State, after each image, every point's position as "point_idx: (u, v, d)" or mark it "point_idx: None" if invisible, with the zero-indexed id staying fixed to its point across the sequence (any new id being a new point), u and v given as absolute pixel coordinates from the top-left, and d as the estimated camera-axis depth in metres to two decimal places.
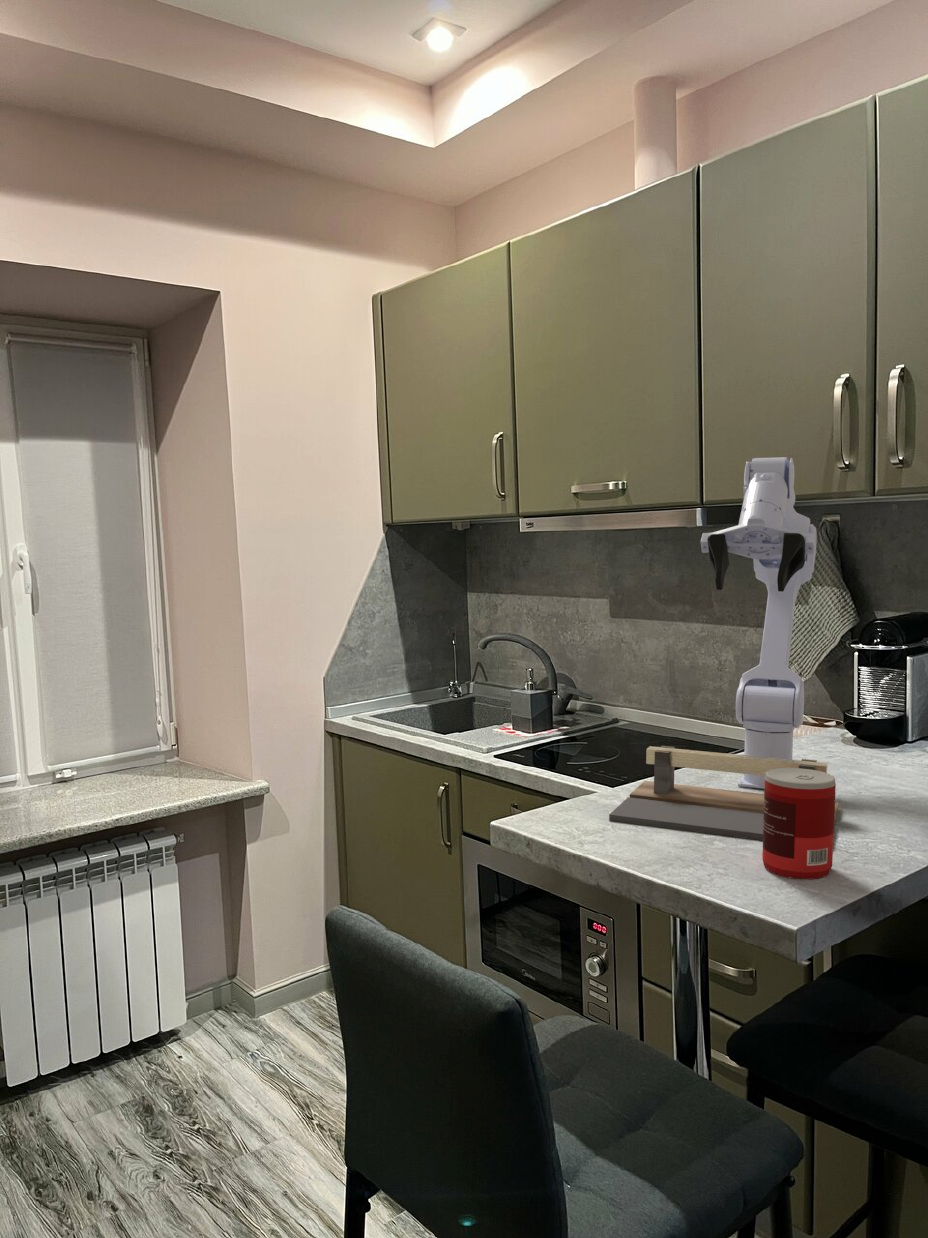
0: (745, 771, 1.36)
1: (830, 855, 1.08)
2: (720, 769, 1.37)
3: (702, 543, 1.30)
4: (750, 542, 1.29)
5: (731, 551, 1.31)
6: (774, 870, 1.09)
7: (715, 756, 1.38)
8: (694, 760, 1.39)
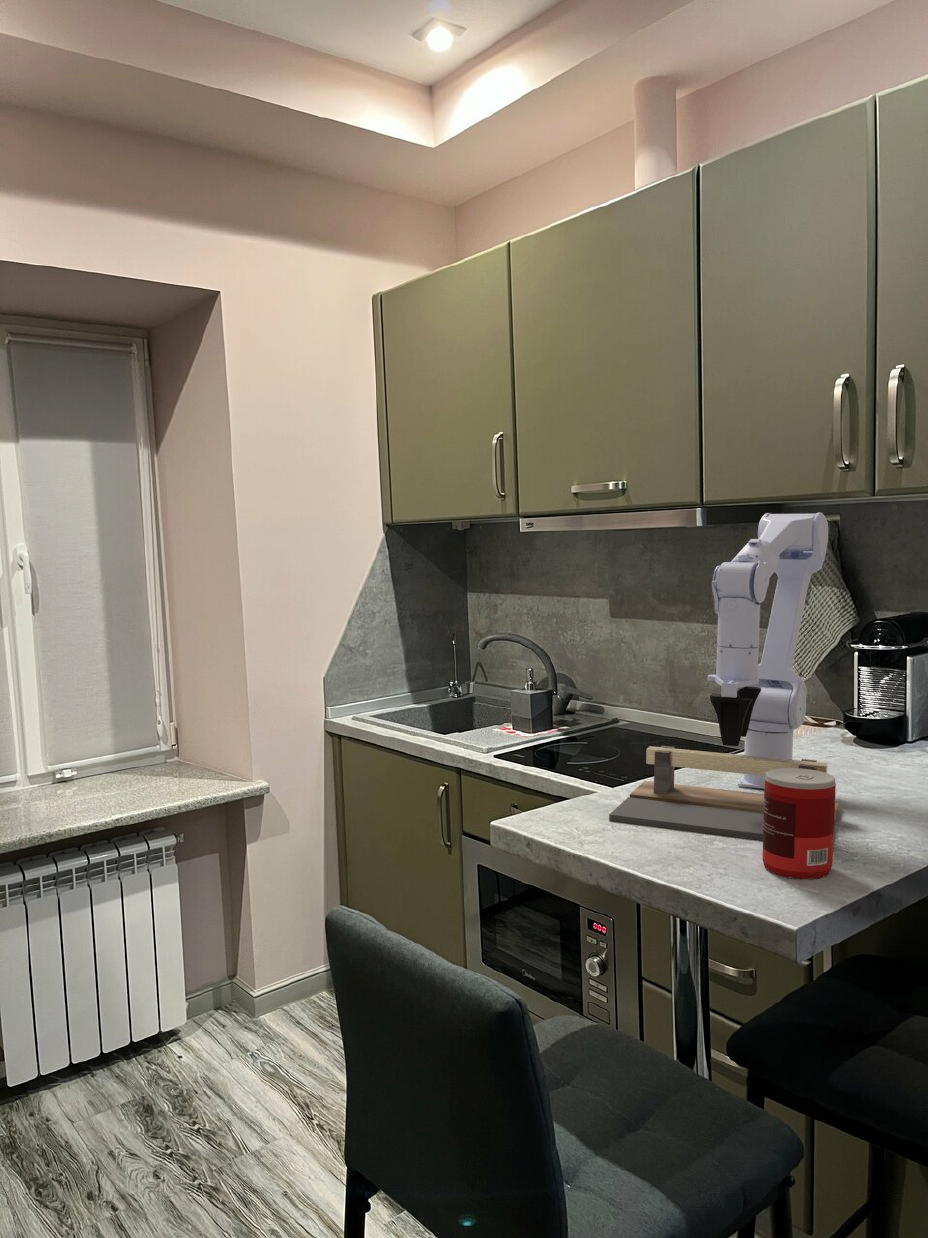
0: (745, 771, 1.36)
1: (830, 855, 1.08)
2: (720, 769, 1.37)
3: None
4: None
5: None
6: (774, 870, 1.09)
7: (715, 756, 1.38)
8: (694, 760, 1.39)
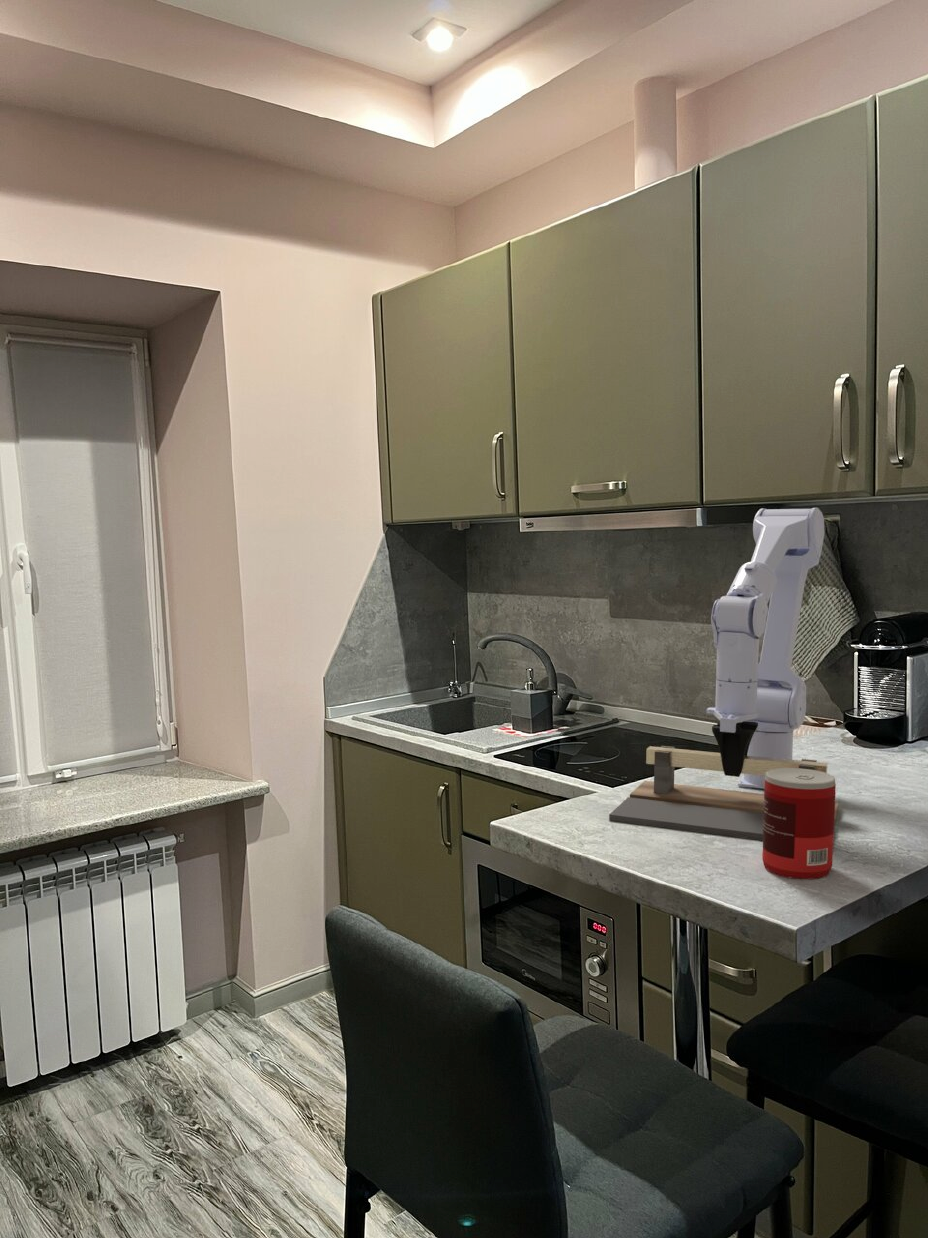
0: (745, 771, 1.36)
1: (830, 855, 1.08)
2: (720, 769, 1.37)
3: None
4: None
5: None
6: (774, 870, 1.09)
7: (715, 756, 1.38)
8: (694, 760, 1.39)
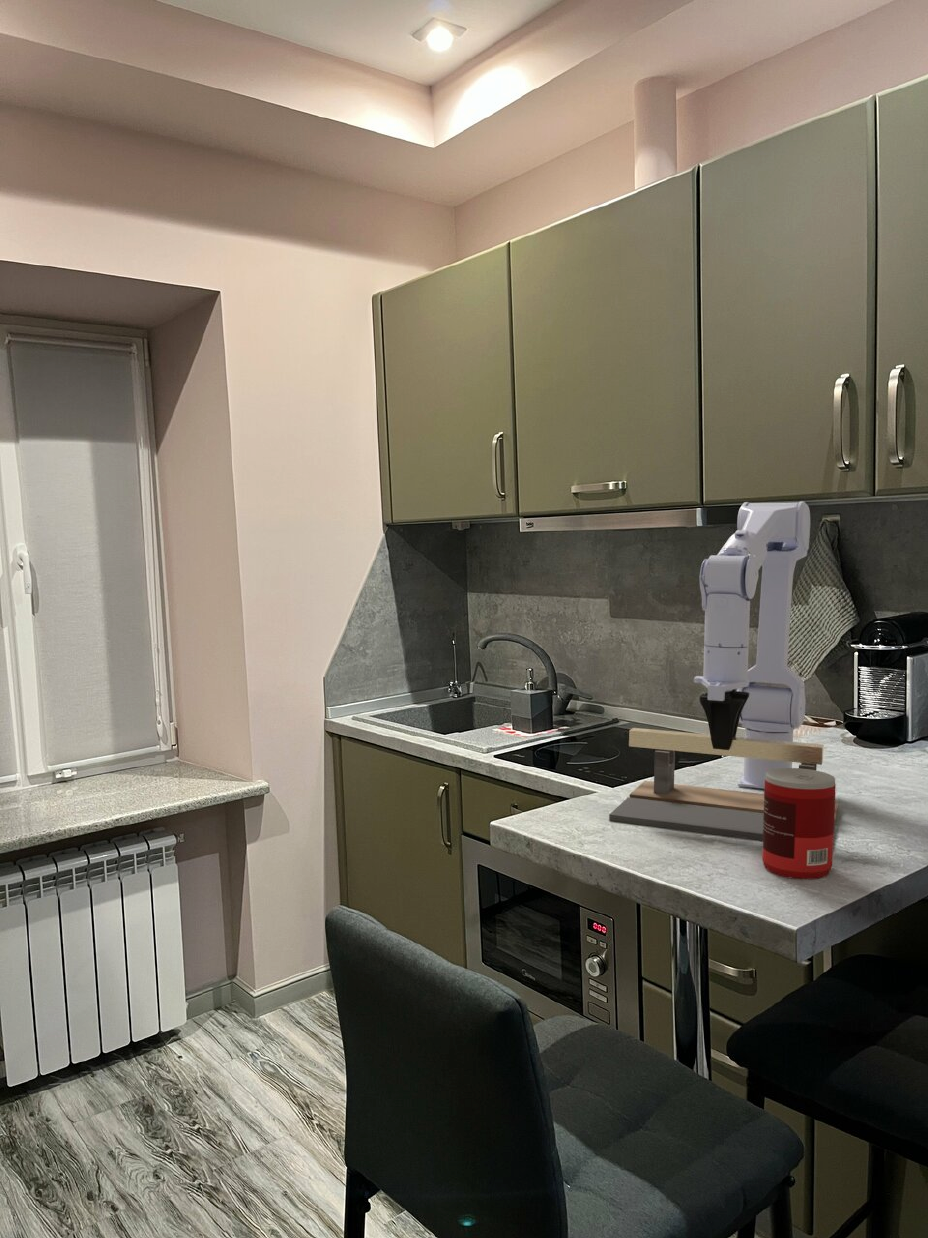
0: (735, 753, 1.26)
1: (830, 855, 1.08)
2: (708, 751, 1.28)
3: None
4: None
5: None
6: (774, 870, 1.09)
7: (703, 737, 1.28)
8: (680, 742, 1.29)
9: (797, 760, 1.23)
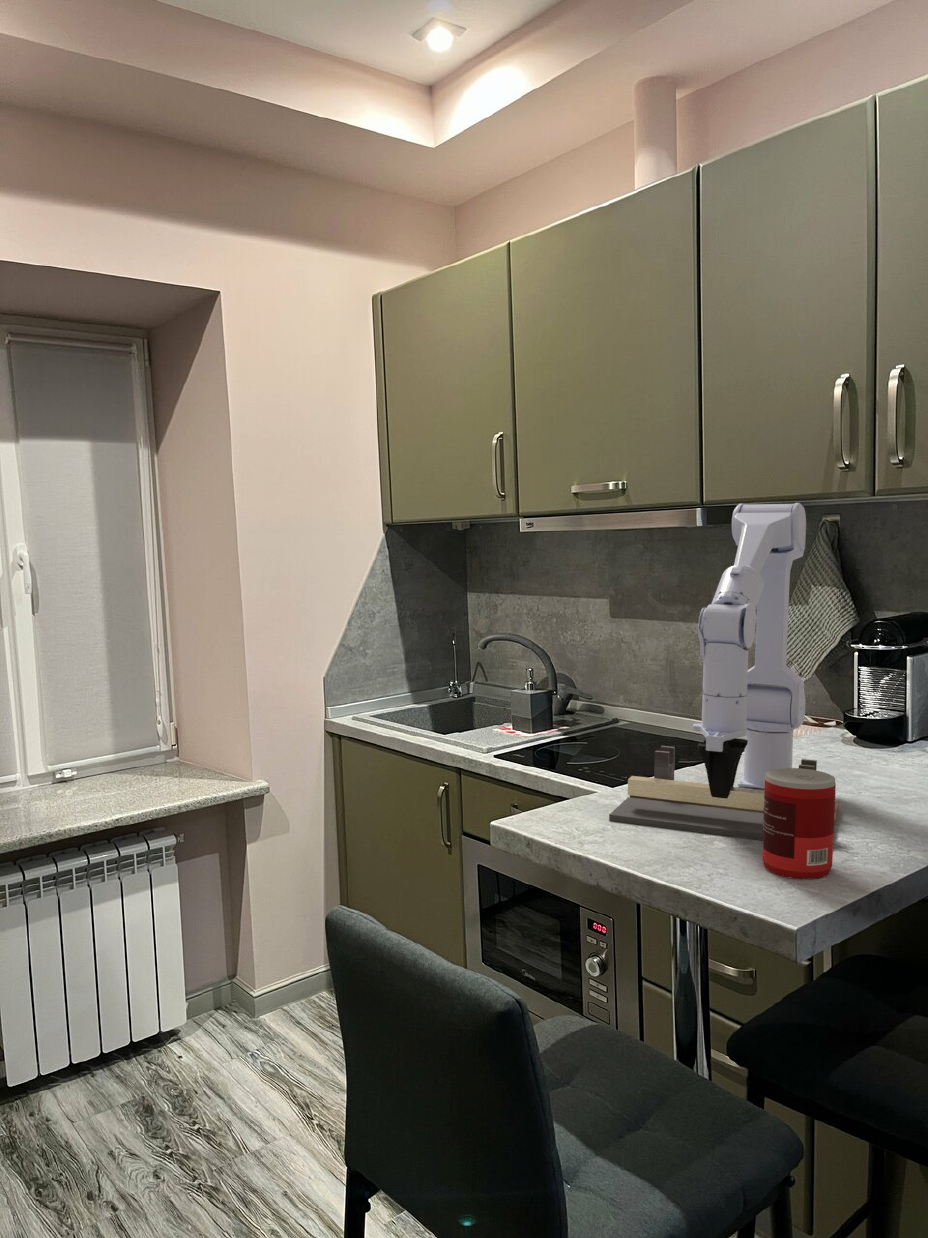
0: (733, 804, 1.27)
1: (830, 855, 1.08)
2: (706, 802, 1.28)
3: None
4: None
5: None
6: (774, 870, 1.09)
7: (701, 788, 1.28)
8: (679, 791, 1.29)
9: None
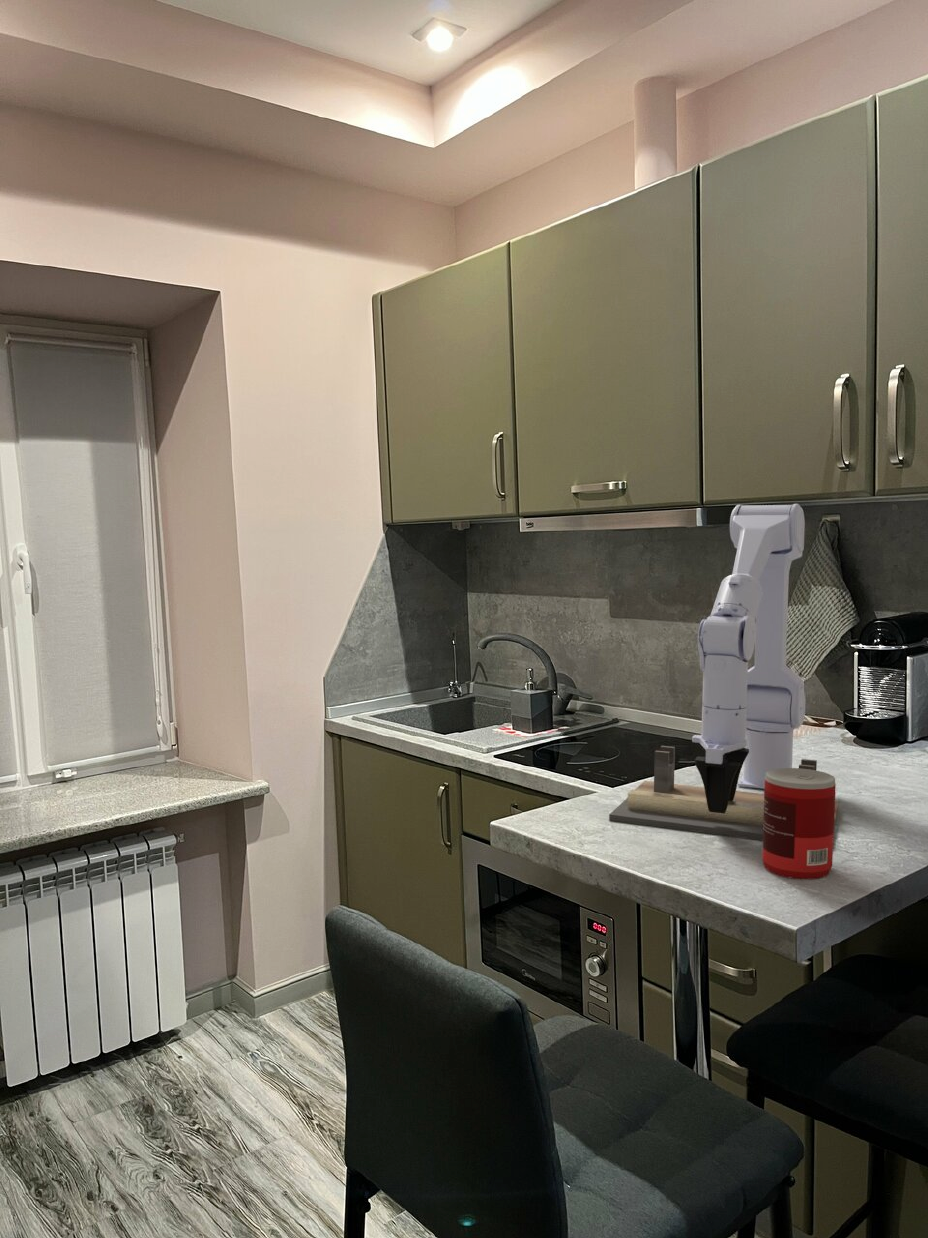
0: (733, 819, 1.27)
1: (830, 855, 1.08)
2: (706, 816, 1.28)
3: None
4: None
5: None
6: (774, 870, 1.09)
7: (701, 802, 1.28)
8: (678, 806, 1.30)
9: None
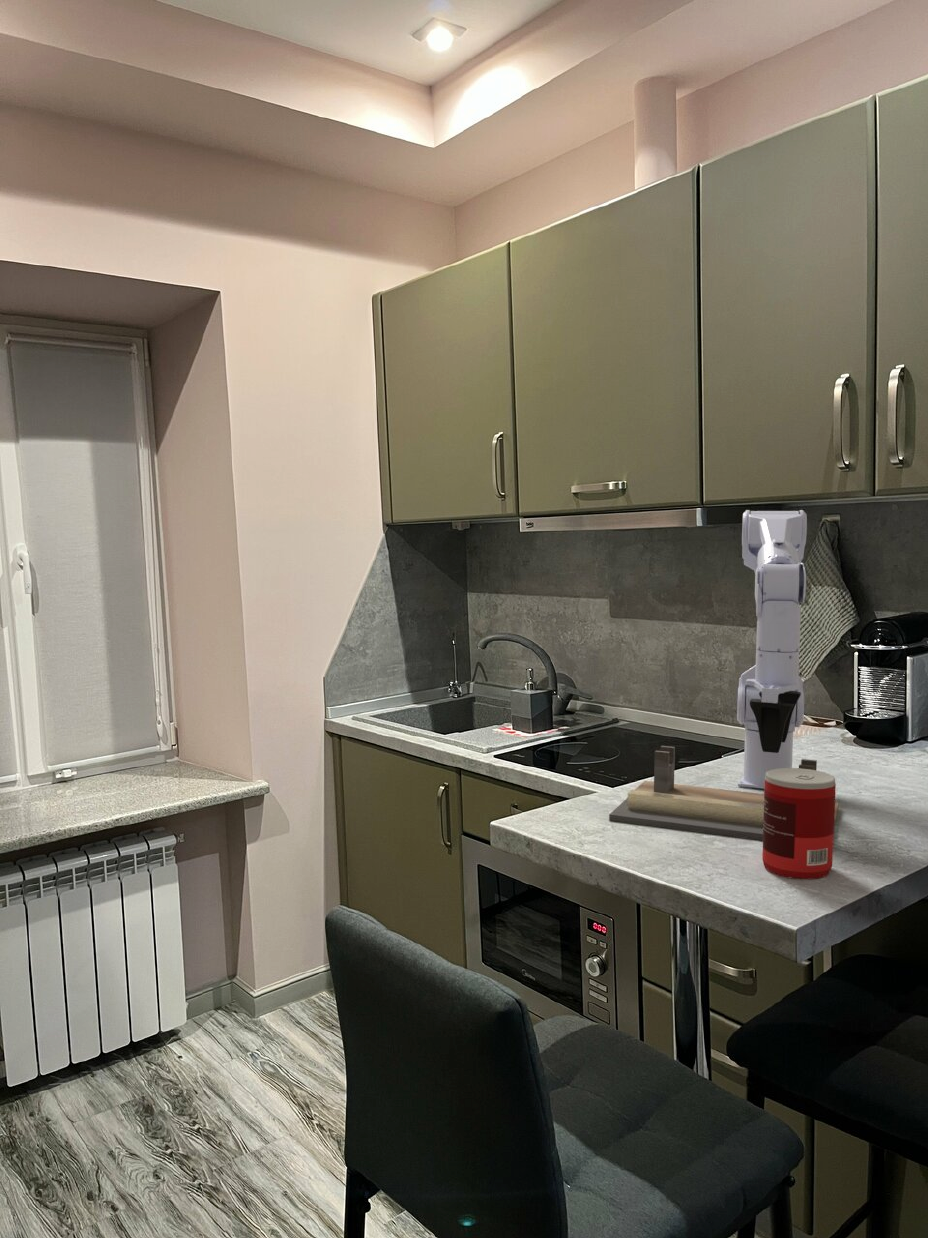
0: (733, 819, 1.27)
1: (830, 855, 1.08)
2: (706, 816, 1.28)
3: None
4: None
5: None
6: (774, 870, 1.09)
7: (701, 802, 1.28)
8: (678, 806, 1.30)
9: None
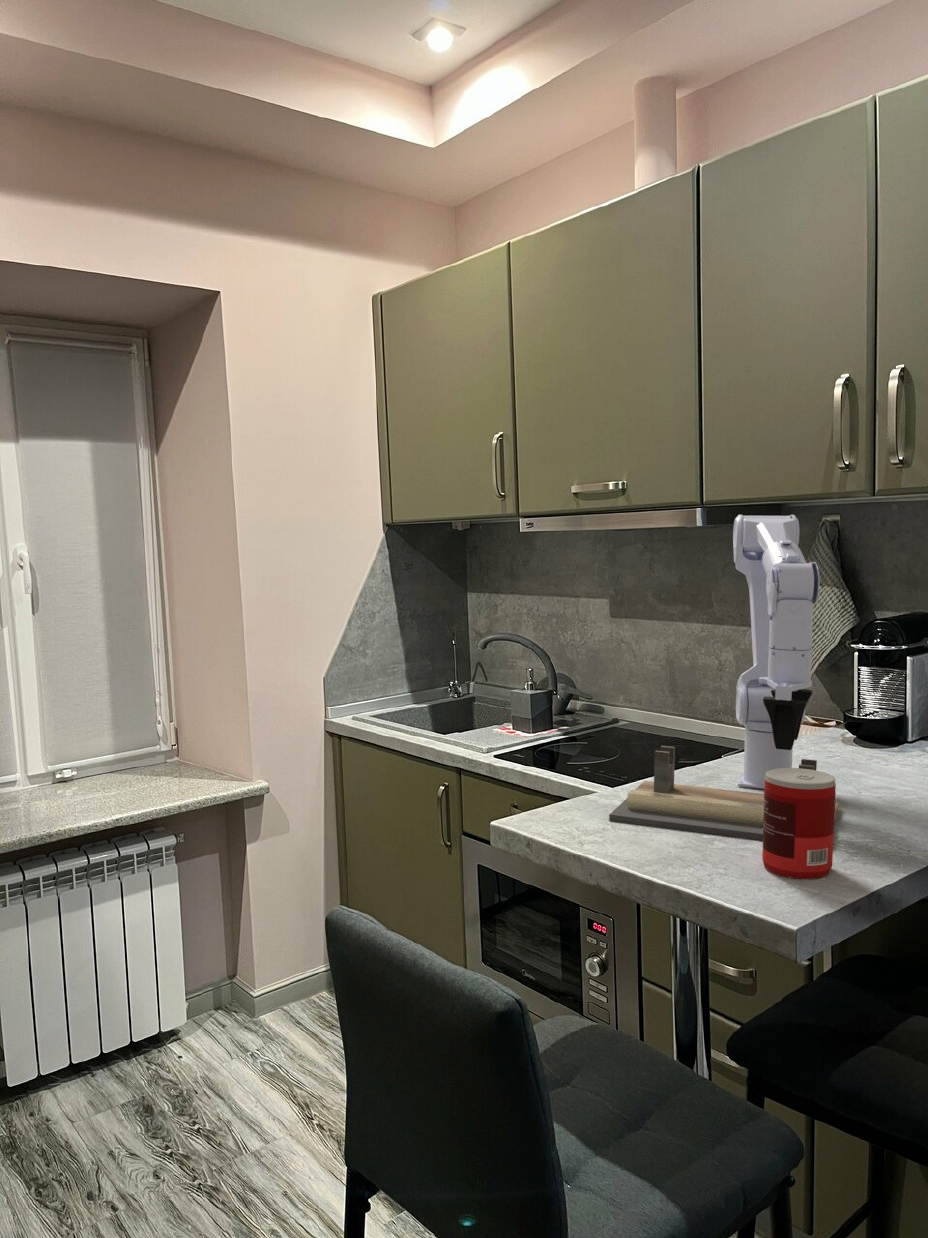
0: (733, 819, 1.27)
1: (830, 855, 1.08)
2: (706, 816, 1.28)
3: None
4: None
5: None
6: (774, 870, 1.09)
7: (701, 802, 1.28)
8: (678, 806, 1.30)
9: None
